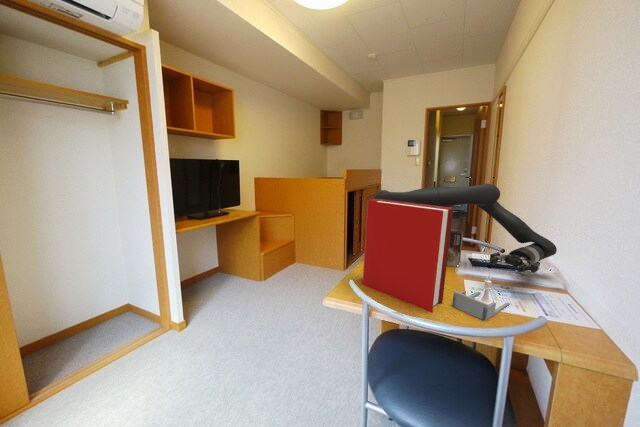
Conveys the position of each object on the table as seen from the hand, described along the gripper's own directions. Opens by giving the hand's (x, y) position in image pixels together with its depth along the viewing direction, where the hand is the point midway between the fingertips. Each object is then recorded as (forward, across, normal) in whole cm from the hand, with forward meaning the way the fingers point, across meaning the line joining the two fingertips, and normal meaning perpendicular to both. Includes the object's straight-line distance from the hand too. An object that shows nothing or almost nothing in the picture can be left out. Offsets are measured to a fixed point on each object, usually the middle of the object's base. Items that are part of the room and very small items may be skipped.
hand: (505, 265), depth 94 cm
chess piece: (+11, 0, +11) cm, 16 cm away
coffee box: (-15, -28, +11) cm, 34 cm away
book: (+30, -21, +11) cm, 38 cm away
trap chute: (+14, 0, +11) cm, 18 cm away
